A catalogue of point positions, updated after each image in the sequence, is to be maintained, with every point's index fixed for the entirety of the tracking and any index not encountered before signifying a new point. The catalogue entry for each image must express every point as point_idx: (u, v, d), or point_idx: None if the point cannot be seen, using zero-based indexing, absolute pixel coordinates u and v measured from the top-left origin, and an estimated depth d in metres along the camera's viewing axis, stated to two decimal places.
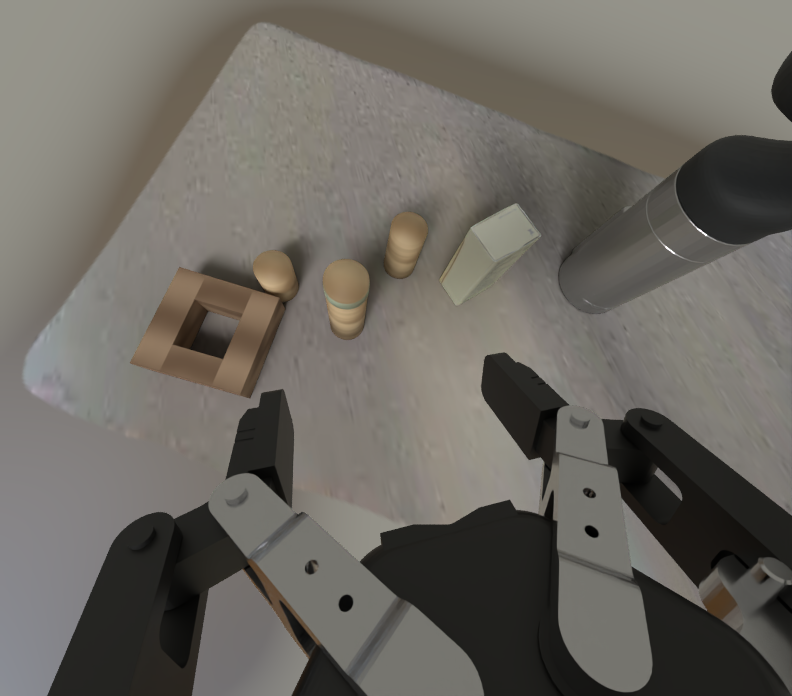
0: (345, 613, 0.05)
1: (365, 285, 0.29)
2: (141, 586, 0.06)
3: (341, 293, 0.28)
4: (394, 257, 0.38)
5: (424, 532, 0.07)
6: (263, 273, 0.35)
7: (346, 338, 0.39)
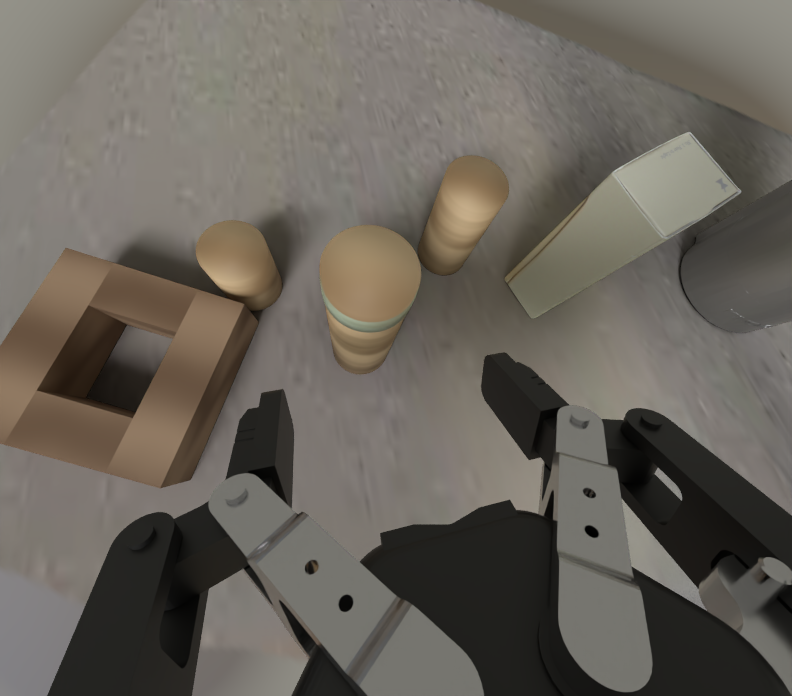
0: (345, 614, 0.05)
1: (412, 282, 0.13)
2: (141, 586, 0.06)
3: (359, 299, 0.13)
4: (443, 238, 0.23)
5: (424, 532, 0.07)
6: (213, 259, 0.20)
7: (359, 372, 0.24)
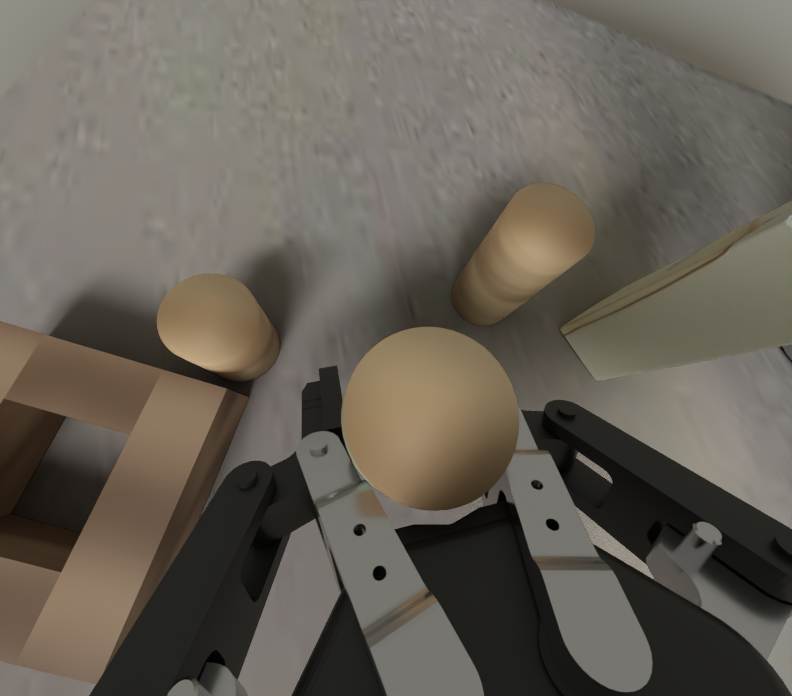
0: (376, 581, 0.06)
1: (506, 433, 0.07)
2: (237, 521, 0.07)
3: (416, 475, 0.07)
4: (495, 289, 0.17)
5: (424, 532, 0.07)
6: (182, 332, 0.14)
7: None
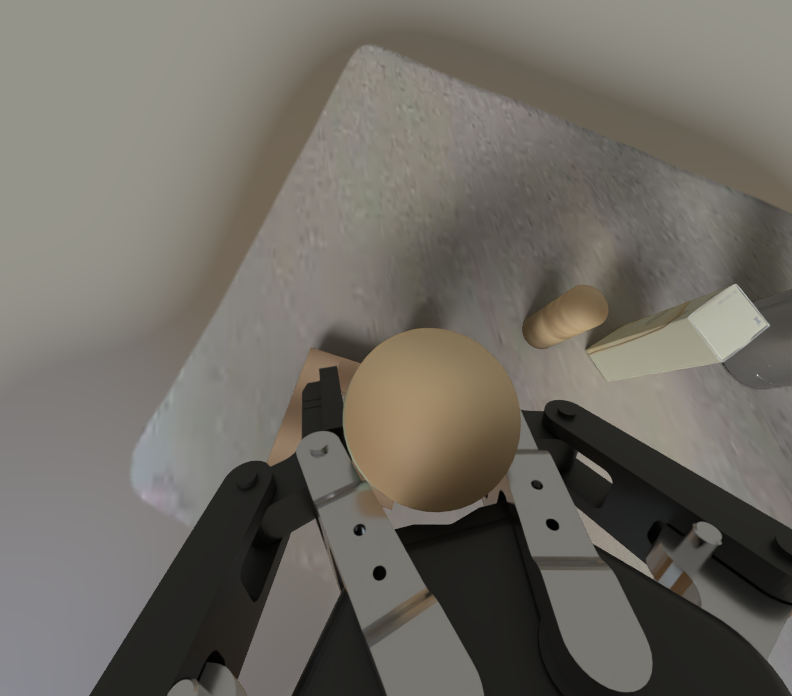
0: (376, 582, 0.06)
1: (507, 434, 0.07)
2: (237, 521, 0.07)
3: (417, 476, 0.07)
4: (554, 333, 0.32)
5: (424, 532, 0.07)
6: None
7: None
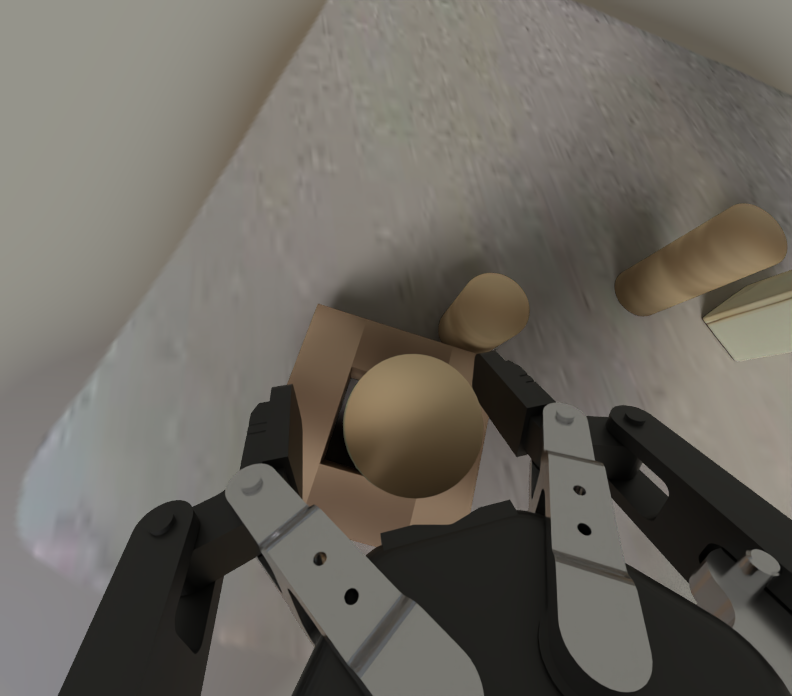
0: (350, 606, 0.06)
1: (472, 438, 0.10)
2: (159, 571, 0.07)
3: (401, 471, 0.09)
4: (685, 285, 0.22)
5: (424, 532, 0.07)
6: (481, 316, 0.18)
7: None
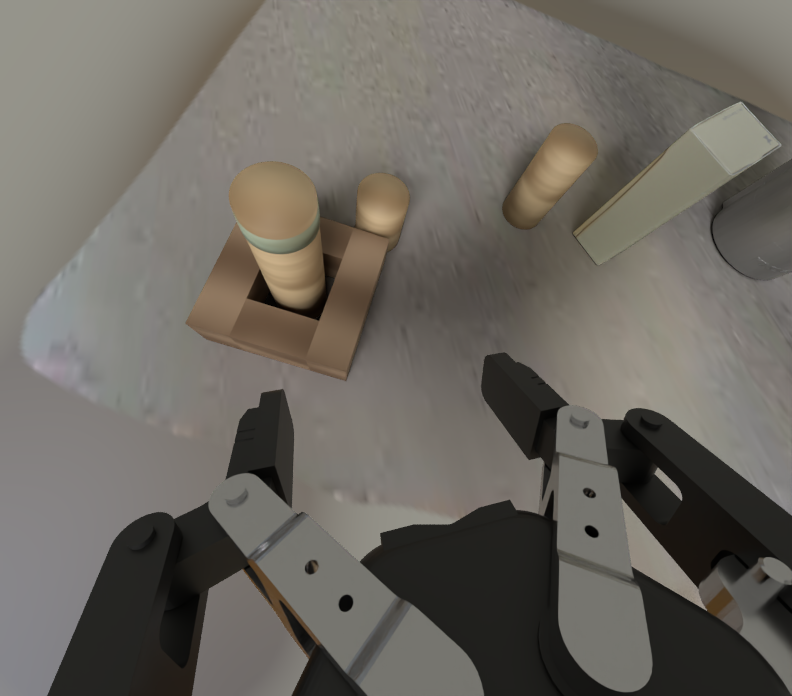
0: (345, 613, 0.05)
1: (308, 207, 0.16)
2: (141, 586, 0.06)
3: (262, 218, 0.15)
4: (538, 191, 0.28)
5: (424, 532, 0.07)
6: (371, 201, 0.25)
7: None
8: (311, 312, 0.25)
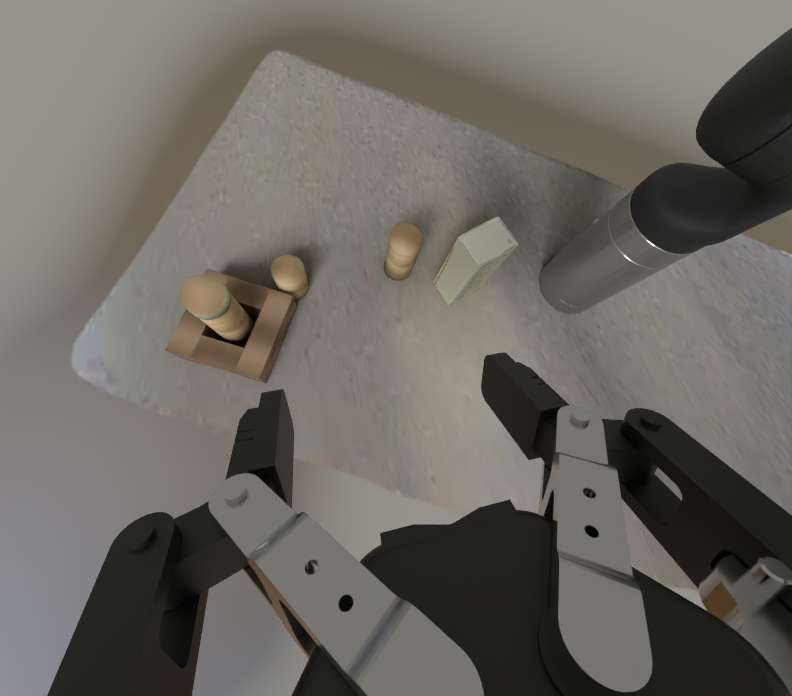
0: (344, 614, 0.05)
1: (220, 298, 0.32)
2: (141, 586, 0.06)
3: (195, 305, 0.31)
4: (393, 261, 0.44)
5: (424, 532, 0.07)
6: (279, 274, 0.41)
7: (237, 345, 0.42)
8: (243, 341, 0.42)
